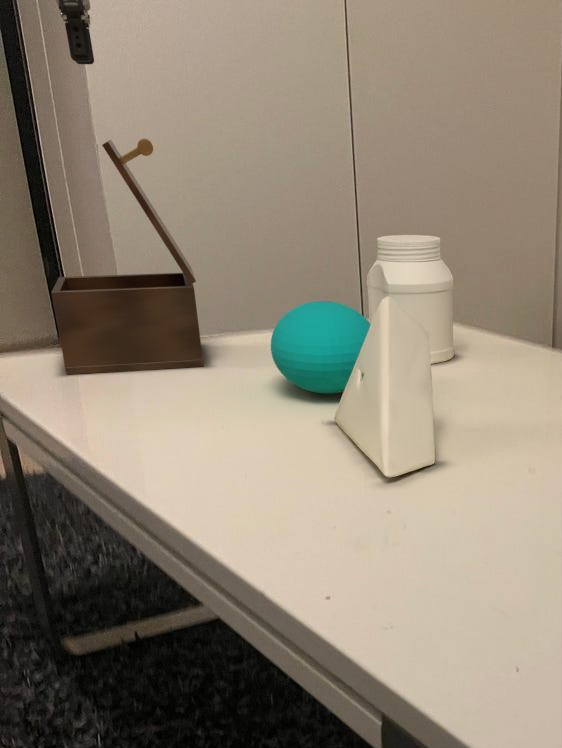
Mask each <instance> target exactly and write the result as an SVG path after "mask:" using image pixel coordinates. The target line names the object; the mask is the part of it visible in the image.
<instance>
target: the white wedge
mask: <svg viewBox="0 0 562 748" xmlns="http://www.w3.org/2000/svg"><path fill="white" fill-rule="evenodd" d="M362 374H364V375H363V379H362ZM432 377H433V376H432V364H431V356H430V339H429V333H428V332H427V331H426V330H425V328H424V327H423V326H422V325H421V324H420V323H418V322H417V321H416V320H415V319H414V318H413V317H412V316H411V315H410V314H408V313H407V312H406V311H405V310H404V309H403V308H402V307H401V306H399V305H398V304H397V303H396V302H395V301H394V300H393V299H391V298H390V297H386V298H384V299H382V301H381V302H380V304H379V306H378V308H377V311H376V313H375V316H374V318H373V321H372V323H371V326H370V328H369V331H368V333H367V336H366V338H365V341H364V343H363V346H362V348H361V351H360V353H359V356H358V358H357V360H356V363H355V365H354V368H353V370H352V373H351V375H350V378H349V380H348V383H347V385H346V388H345V390H344V392H342V395H341V398H340V401H339V403H338V405H337V408H336V411H335V413H334V421H335V423H336V425H338V426H339V428H340V429H341V430H342V431H343V432H344V433H345V434H346V435H347V436H348V437H349V438H350V440H352V442H353V443H354V444H355V445H356V446H357V447H358V449H360V451H361V452H363V453H364V454H365V456H366V457H368V458H369V459H370V461H372V462H373V463H374V464H375V465H376V467H378V469H379V471H381V473H382V474H383V476H384V477H386V478H394V477H398V476H402V475H405V474H407V473H411V472H413V471H417V470H419V469H422V468H425V467H428V466H432V465H434V464H435V463H436V444H435V421H434V420H435V418H434V397H433V378H432Z"/></svg>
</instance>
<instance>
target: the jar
mask: <svg viewBox="0 0 562 748" xmlns="http://www.w3.org/2000/svg"><path fill="white" fill-rule="evenodd" d="M376 244H377V245H376V248H377V250H376V252H377V256H376V260H375V262H374V263H373V265H372V266H371V268H370V269H369V270H368V272H367V275H366V287H367V299H368V300H367V303H368V318H369V319H368V321H369V323H370V324H371V323H372V321H373V318H374V316H375V313H376V311H377V308H378V306H379V304H380V302H381V301H382V299H384V298H386V297H390V298H391V299H393V300H394V301H395V302H396V303H397V304H398V305H399V306H401V307H402V308H403V309H404V310H405V311H406V312H407V313H408V314H410V315H411V316H412V317H413V318H414V319H415V320H416V321H417V322H418V323H420V324H421V325H422V326H423V327H424V328H425V330H426V331H427V332H428V333H429V339H430V356H431V365H434V364H438V363H439V364H440V363H443V362H446V361H450V360H451V359H453V358H454V356H455V345H454V277H453V274H452V271H451V270H450V268H449V267H448V266H447V264H446V263H445V262H444V260H443V259H442V256H441V249H442V248H441V237H439V236H435V235H424V234H423V235H422V234H395V235H383V236H379V237H377V238H376Z"/></svg>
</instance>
